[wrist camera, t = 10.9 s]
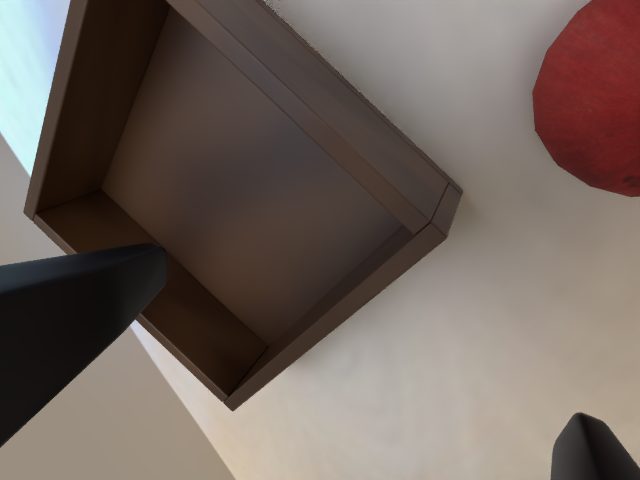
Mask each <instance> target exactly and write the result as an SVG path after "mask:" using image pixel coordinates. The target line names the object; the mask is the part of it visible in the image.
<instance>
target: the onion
mask: <svg viewBox="0 0 640 480" xmlns="http://www.w3.org/2000/svg"><path fill="white" fill-rule="evenodd" d="M532 94H533V109H534V124H535V131H536V133H537V134H538V136H539V137H540V139H541V141H542V142H543V144H544V145H545V147H546V149H547V150H548V152H549V153H550V155H551V156H552V158H553V160H554V161H555V162H556V163H557V165H558V166H560V167H561V168H563V169H564V170H566V171H567V172H569V173H570V174H572V175H574V176H575V177H577V178H578V179H580V180H581V181H583V182H584V183H586V184H587V185H589V186H591V187H595V188H599V189H602V190H606V191H610V192H614V193H617V194H621V195H625V196H629V197H639V196H640V0H592V1H591V2H590V3H588V4H587V5H585V6H584V7H583V8H581V9H580V10H579V11H577V13H576V14H575V15H574V17H573V18H572V19H571V21H570V22H569V23H568V24H567V26H566V27H565V28H564V30H563V31H562V32H561V33H560V35H559V36H558V37H557V39H556V40H555V41H554V43H553V44H552V45H551V46H550V48H549V49H548V50H547V52H546V55H545V58H544V61H543V63H542V66H541V69H540V72H539V75H538V78H537V80H536V83H535V86H534V89H533V92H532Z"/></svg>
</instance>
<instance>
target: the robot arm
mask: <svg viewBox="0 0 640 480" xmlns="http://www.w3.org/2000/svg"><path fill="white" fill-rule="evenodd" d="M168 275H169V274H168V255H167V251H166V249H165V248H164V247H162V246H160V245H157V244H155V243H151V242H147V243H141V244H134V245H128V246H122V247H115V248H109V249H103V250H96V251H90V252H84V253H78V254H71V255H65V256H59V257H52V258H46V259H40V260H33V261H27V262H21V263H15V264H8V265H2V266H0V448H1V447H2V445H4V444H5V443H6V442H7V441H8V440H9V439H10V438H11V437H12V436H13V435H14V434H15V433H17V432H18V431H19V430H20V429H21V428H22V427H23V426H24V425H25V424H26V423H27V422H28V421H29V420H30V419H31V418H32V417H34V416H35V415H36V414H37V413H38V412H39V411H40V410H41V409H42V408H43V407H44V406H45V405H46V404H47V403H49V402H50V400H52V399H53V398H54V397H55V396H56V395H57V394H58V393H59V392H60V391H61V390H62V389H64V387H66V386H67V385H68V384H69V383H70V382H71V381H72V380H73V379H74V378H75V377H76V376H77V375H78V374H80V373H81V372H82V371H83V370H84V369H85V368H86V367H87V366H88V365H89V364H90V363H91V362H92V361H93V360H95V358H97V357H98V356H99V355H100V354H101V353H102V352H103V351H104V350H105V349H106V348H107V347H108V346H109V345H110V344H112V343H113V341H115V340H116V339H117V338H118V337H119V336H120V335H121V334H122V333H123V332H124V331H125V330H126V329H127V328H128V327H129V326H130V324H131V323H132V322H133V321H134V320H135V319H136V318H137V317H138V315H139V314H140V313H141V312H142V311H143V310H144V309H145V308H146V306H147V305H148V304H149V303H150V302H151V301H152V300H153V298H154V297H155V296H156V295H157V294H158V293H159V292H160V291H161V289H162V288H163V287H164V286H165V284H166V283H167V280H168ZM551 480H640V468H639V467H638V465H637V464H636V463H635V461H634V460H633V459H632V457H631V456H630V455H629V453H628V452H627V451H626V449H625V448H624V447H623V445H622V444H621V443H620V442H619V440H618V439H617V438H616V436H615V435H614V434H613V432H612V431H611V430H610V428H609V427H608V426H607V425H606V424H605V423H604V422H603V421H601V420H599V419H597V418H594V417H592V416H589V415H587V414H584V413H581V412H580V413H576V414H574V415H573V416H572V418H571V419H570V420H569V422H568V423H567V425H566V426H565V428H564V429H563V431H562V432H561V434H560V435H559V437H558V438H557V440H556V442H555V444H554V447H553V453H552V466H551Z"/></svg>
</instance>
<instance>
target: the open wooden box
mask: <svg viewBox="0 0 640 480" xmlns="http://www.w3.org/2000/svg"><path fill="white" fill-rule="evenodd" d="M462 193H463V190H462V189H461V188H460V187H459V186H458V185H457V184H456V183H455V182H454V181H453V180H451V179H450V178H449V177H448V176H447V175H446V174H445V173H444V172H443V171H442V170H441V169H440V168H439V167H438V166H437V165H436V164H434V163H433V162H432V161H431V160H430V159H429V158H428V157H427V156H426V155H425V154H424V153H423V152H422V151H421V150H420V149H419V148H418V147H416V146H415V145H414V144H413V143H412V142H411V141H410V140H409V139H408V138H407V137H406V136H405V135H404V134H403V133H402V132H401V131H400V130H398V129H397V128H396V127H395V126H394V125H393V124H392V123H391V122H390V121H389V120H388V119H387V118H386V117H385V116H384V115H383V114H382V113H380V112H379V111H378V110H377V109H376V108H375V107H374V106H373V105H372V104H371V103H370V102H369V101H368V100H367V99H366V98H365V97H363V96H362V95H361V94H360V93H359V92H358V91H357V90H356V89H355V88H354V87H353V86H352V85H351V84H350V83H349V82H348V81H347V80H345V79H344V78H343V77H342V76H341V75H340V74H339V73H338V72H337V71H336V70H335V69H334V68H333V67H332V66H331V65H330V64H329V63H327V62H326V61H325V60H324V59H323V58H322V57H321V56H320V55H319V54H318V53H317V52H316V51H315V50H314V49H313V48H312V47H310V46H309V45H308V44H307V43H306V42H305V41H304V40H303V39H302V38H301V37H300V36H299V35H298V34H297V33H296V32H295V31H294V30H292V29H291V28H290V27H289V26H288V25H287V24H286V23H285V22H284V21H283V20H282V19H281V18H280V17H279V16H278V15H277V14H276V13H274V12H273V11H272V10H271V9H270V8H269V7H268V6H267V5H266V4H265V3H264V2H263V1H262V0H71V1H70V5H69V10H68V14H67V19H66V23H65V28H64V32H63V37H62V41H61V46H60V50H59V55H58V59H57V64H56V68H55V73H54V77H53V81H52V86H51V90H50V95H49V99H48V104H47V108H46V113H45V117H44V122H43V126H42V131H41V135H40V140H39V144H38V149H37V153H36V158H35V162H34V167H33V171H32V175H31V180H30V185H29V189H28V194H27V198H26V202H25V207H24V214H25V215H26V216H27V217H28V218H29V219H30V220H32V221H33V222H34V224H36V225H37V226H38V227H39V228H40V229H41V230H42V231H43V232H44V233H45V234H46V235H47V236H48V237H49V238H50V239H51V240H52V241H54V243H56V244H57V245H58V246H59V247H60V248H61V249H62V250H63V251H64V252H65V253H66V254H67V255H71V254H78V253H84V252H90V251H96V250H103V249H109V248H115V247H122V246H128V245H134V244H141V243H147V242H151V243H155V244H157V245H160V246H162V247H164V248H165V249H166V251H167V255H168V274H169V275H168V280H167V283H166V284H165V286H164V287H163V288H162V289H161V291H160V292H159V293H158V294H157V295H156V296H155V297H154V298H153V300H152V301H151V302H150V303H149V304H148V305H147V306H146V308H145V309H144V310H143V311H142V312H141V313H140V314H139V315H138V317H137V318H136V319H135V320H136V321H138V322H139V323H140V324H141V325H142V326H143V327H144V328H145V329H146V330H147V331H148V332H149V333H150V334H151V335H152V336H153V337H154V338H155V339H156V340H157V341H159V342H160V343H161V344H162V345H163V346H164V347H165V348H166V349H167V350H168V351H169V352H170V353H171V354H172V355H173V356H174V357H175V358H176V359H177V360H179V361H180V362H181V363H182V364H183V365H184V366H185V367H186V368H187V369H188V370H189V371H190V372H191V373H192V374H193V375H194V376H195V377H196V378H197V379H198V380H200V381H201V382H202V383H203V384H204V385H205V386H206V387H207V388H208V389H209V390H210V391H211V392H212V393H213V394H214V395H215V396H216V397H217V398H218V399H220V400H221V401H222V402H223V401H224V402H223V403H224V404H225V405H226V406H227V407H228V408H229V409H230V410H231V411H234V410H235V409H237V408H238V407H239V406H240V405H242V404H243V403H244V402H245V401H247V400H248V399H249V398H250V397H252V396H253V395H254V394H255V393H256V392H258V391H259V390H260V389H261V388H263V387H264V386H265V385H266V384H268V383H269V382H270V381H271V380H273V379H274V378H275V377H276V376H277V375H279V374H280V373H281V372H282V371H284V370H285V369H286V368H287V367H289V366H290V365H291V364H292V363H294V362H295V361H296V360H297V359H298V358H300V357H301V356H302V355H303V354H305V353H306V352H307V351H308V350H310V349H311V348H312V347H313V346H315V345H316V344H317V343H318V342H319V341H321V340H322V339H323V338H324V337H326V336H327V335H328V334H329V333H331V332H332V331H333V330H334V329H336V328H337V327H338V326H339V325H340V324H342V323H343V322H344V321H345V320H347V319H348V318H349V317H350V316H352V315H353V314H354V313H355V312H357V311H358V310H359V309H360V308H361V307H363V306H364V305H365V304H366V303H368V302H369V301H370V300H371V299H373V298H374V297H375V296H376V295H378V294H379V293H380V292H381V291H382V290H384V289H385V288H386V287H387V286H389V285H390V284H391V283H392V282H394V281H395V280H396V279H397V278H399V277H400V276H401V275H402V274H403V273H405V272H406V271H407V270H408V269H410V268H411V267H412V266H413V265H415V264H416V263H417V262H418V261H420V260H421V259H422V258H423V257H424V256H426V255H427V254H428V253H429V252H431V251H432V250H433V249H434V248H436V247H437V246H438V245H439V244H441V243H442V242H443V241H444V240H445V239H446V238H447V236H448V233H449V230H450V227H451V224H452V221H453V219H454V216H455V213H456V210H457V207H458V204H459V201H460V198H461V196H462Z"/></svg>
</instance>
